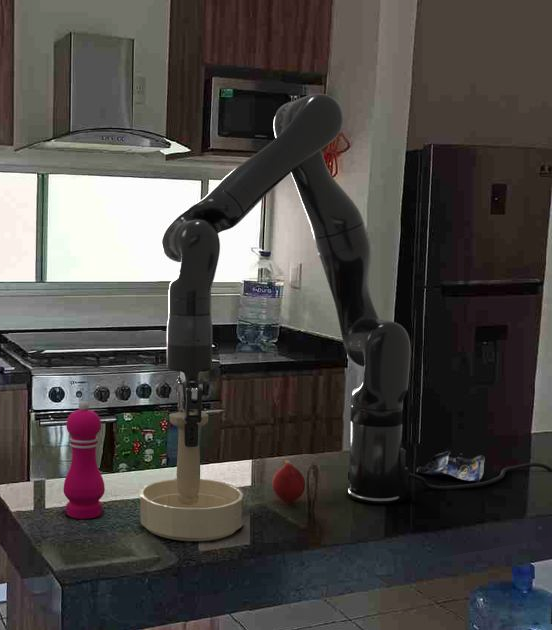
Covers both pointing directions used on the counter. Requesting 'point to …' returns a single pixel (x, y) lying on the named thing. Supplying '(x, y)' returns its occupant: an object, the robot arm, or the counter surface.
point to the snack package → (455, 467)
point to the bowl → (192, 511)
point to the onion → (288, 483)
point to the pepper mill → (83, 465)
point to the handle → (187, 462)
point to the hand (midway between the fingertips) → (188, 441)
